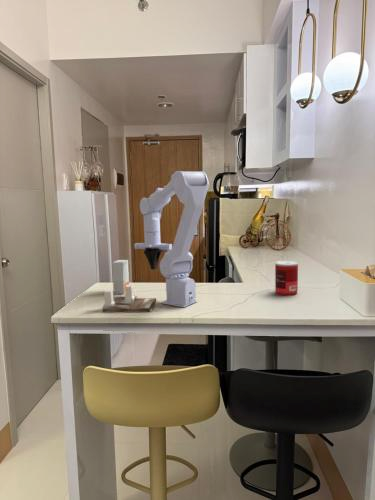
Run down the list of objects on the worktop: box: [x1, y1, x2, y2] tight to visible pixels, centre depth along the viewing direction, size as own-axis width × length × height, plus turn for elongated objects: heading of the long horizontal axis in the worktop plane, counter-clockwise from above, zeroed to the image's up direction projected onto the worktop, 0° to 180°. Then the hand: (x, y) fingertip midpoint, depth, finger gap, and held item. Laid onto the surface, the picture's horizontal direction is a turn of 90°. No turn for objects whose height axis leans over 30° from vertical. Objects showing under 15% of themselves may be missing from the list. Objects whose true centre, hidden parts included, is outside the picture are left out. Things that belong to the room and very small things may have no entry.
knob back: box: [125, 284, 135, 300], centre depth 123 cm, size 3×3×5 cm
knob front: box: [103, 289, 115, 306], centre depth 118 cm, size 3×3×5 cm
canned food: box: [274, 260, 299, 296], centre depth 131 cm, size 8×8×11 cm
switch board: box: [102, 295, 157, 313], centre depth 121 cm, size 15×12×2 cm
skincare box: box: [111, 259, 130, 295], centre depth 139 cm, size 6×4×12 cm
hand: (153, 268), depth 134 cm, fingers closed
